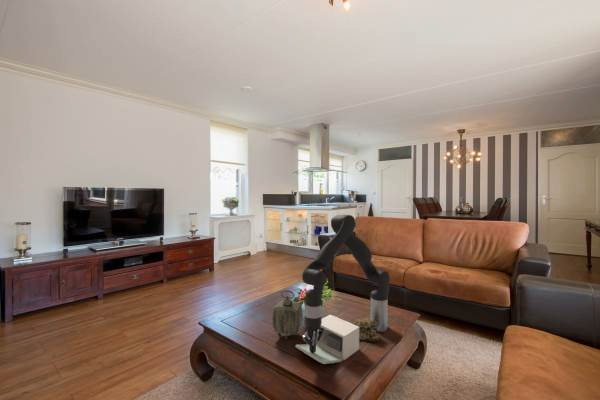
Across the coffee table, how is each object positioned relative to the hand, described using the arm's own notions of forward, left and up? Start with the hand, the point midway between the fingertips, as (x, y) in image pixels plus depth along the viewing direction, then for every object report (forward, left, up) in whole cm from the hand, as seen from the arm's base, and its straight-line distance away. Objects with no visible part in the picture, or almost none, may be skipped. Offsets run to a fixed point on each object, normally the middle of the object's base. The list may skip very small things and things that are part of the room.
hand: (312, 351), depth 123 cm
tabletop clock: (-6, -24, -6) cm, 25 cm away
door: (-10, 0, -5) cm, 11 cm away
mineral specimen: (-35, +4, -6) cm, 36 cm away
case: (-17, 0, -6) cm, 18 cm away
